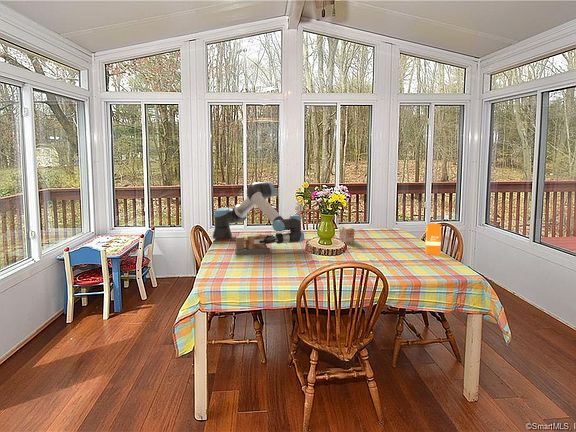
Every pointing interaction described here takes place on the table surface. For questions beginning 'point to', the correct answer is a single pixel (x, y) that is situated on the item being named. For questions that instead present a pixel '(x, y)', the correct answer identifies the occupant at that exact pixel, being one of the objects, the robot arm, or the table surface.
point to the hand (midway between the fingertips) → (251, 239)
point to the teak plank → (251, 244)
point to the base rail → (243, 251)
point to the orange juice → (433, 239)
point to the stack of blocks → (347, 235)
